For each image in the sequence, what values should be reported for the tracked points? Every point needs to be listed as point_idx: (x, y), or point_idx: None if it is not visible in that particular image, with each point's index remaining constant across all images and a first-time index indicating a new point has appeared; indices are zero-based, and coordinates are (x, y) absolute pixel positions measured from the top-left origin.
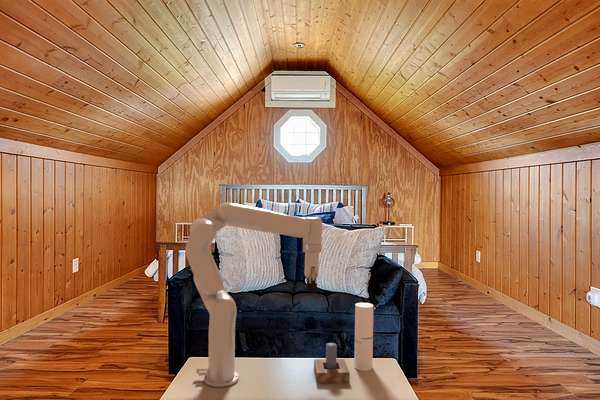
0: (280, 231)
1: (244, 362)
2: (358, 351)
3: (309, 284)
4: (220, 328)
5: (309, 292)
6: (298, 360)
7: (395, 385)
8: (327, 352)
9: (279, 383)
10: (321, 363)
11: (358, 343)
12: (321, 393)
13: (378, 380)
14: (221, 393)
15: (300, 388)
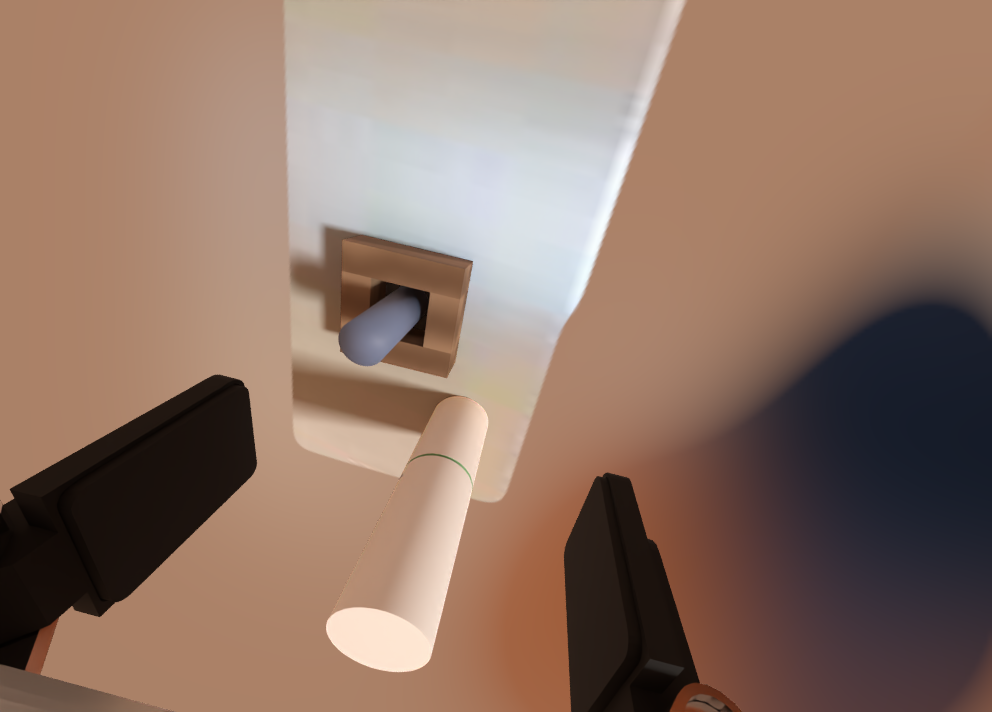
0: None
1: None
2: (427, 434)
3: (45, 481)
4: None
5: (209, 388)
6: (574, 225)
7: (339, 440)
8: (363, 312)
9: (374, 78)
10: (422, 285)
11: (418, 454)
12: (295, 227)
13: (369, 417)
14: None
15: (330, 161)
